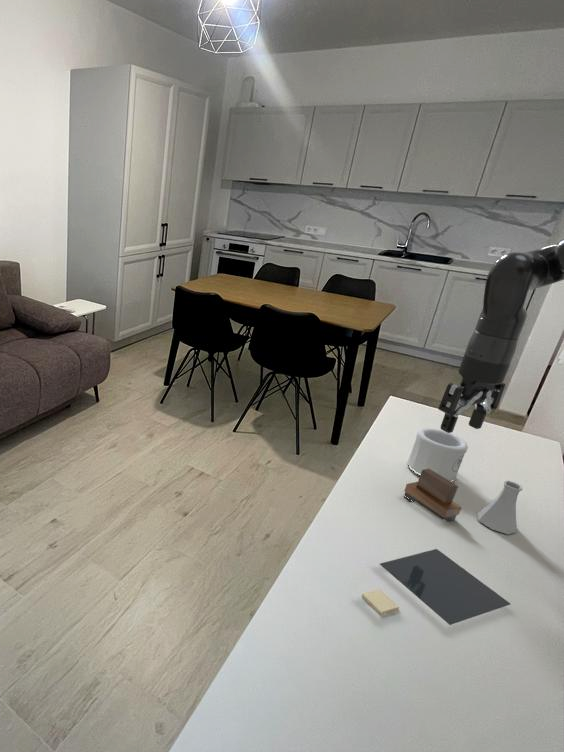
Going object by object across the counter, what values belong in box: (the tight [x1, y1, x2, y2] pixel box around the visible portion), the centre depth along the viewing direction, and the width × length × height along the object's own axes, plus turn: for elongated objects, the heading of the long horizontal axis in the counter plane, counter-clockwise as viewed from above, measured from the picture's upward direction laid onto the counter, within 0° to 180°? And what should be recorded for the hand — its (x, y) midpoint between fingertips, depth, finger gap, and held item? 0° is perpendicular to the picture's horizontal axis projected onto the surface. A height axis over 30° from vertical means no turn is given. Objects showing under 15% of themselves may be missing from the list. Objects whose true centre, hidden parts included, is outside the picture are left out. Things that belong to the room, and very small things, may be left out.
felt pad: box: [361, 588, 400, 616], centre depth 82 cm, size 4×4×2 cm
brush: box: [403, 469, 462, 522], centre depth 109 cm, size 4×10×8 cm, turn 20°
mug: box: [407, 427, 469, 481], centre depth 125 cm, size 14×11×10 cm
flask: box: [476, 480, 523, 535], centre depth 105 cm, size 7×7×10 cm
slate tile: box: [379, 548, 511, 626], centre depth 88 cm, size 15×14×1 cm
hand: (460, 429), depth 103 cm, fingers open, 8 cm apart
